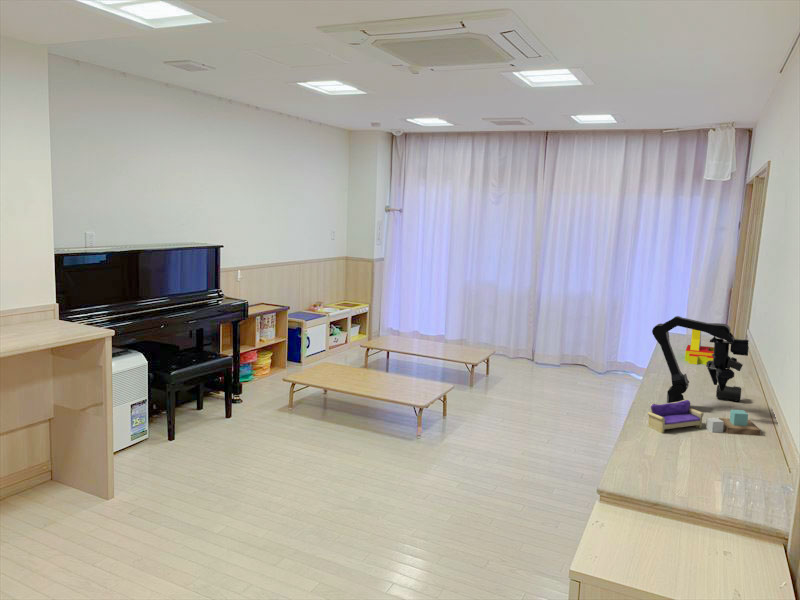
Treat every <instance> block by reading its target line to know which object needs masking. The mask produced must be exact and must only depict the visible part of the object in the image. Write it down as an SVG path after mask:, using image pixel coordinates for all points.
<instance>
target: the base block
mask: <svg viewBox="0 0 800 600" xmlns="http://www.w3.org/2000/svg"><path fill="white" fill-rule="evenodd" d="M718 419H720V420H722V421H723V422H724V424H723V432H725V433H726V434H729V435H744V436H756V437H757V436H758V437H761V429H760V428H759V427H758V426H757V425H756V424H755V423H754V422H752V421H751V419H748V423H747V426H736V425H733V424H732V423H731V422H730V418H723V417H722V418H721V417H719V418H718Z"/></svg>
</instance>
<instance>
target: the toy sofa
mask: <svg viewBox="0 0 800 600" xmlns="http://www.w3.org/2000/svg"><path fill="white" fill-rule="evenodd" d="M684 399H685V400H682V401H679V402H673V403H667V402H666V403H659V404H658V403H653V402H652V403H651V404H650V411H648V412H647V416H648V424H647V425H648V427H649V428H651V429H652V430H655V431H656V432H659V433H661V434H665V430H670V429H678V428H685V427H693V426H694V427H696V428H698V429H702V428H703V427H702V426H703V416H704V412H702V411H700V410H696V409H694V408H691V401H690V400H689V399H686V398H684Z"/></svg>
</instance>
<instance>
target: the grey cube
mask: <svg viewBox="0 0 800 600" xmlns="http://www.w3.org/2000/svg"><path fill="white" fill-rule="evenodd" d="M723 424H724V422H723V421H722V420H720V419H719V418H717V417H714V418H713V417H709V418H708V417H707V418H706V425H705V429H706V430H707V431H709V432H711V433H723V432H724V429H723Z"/></svg>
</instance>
